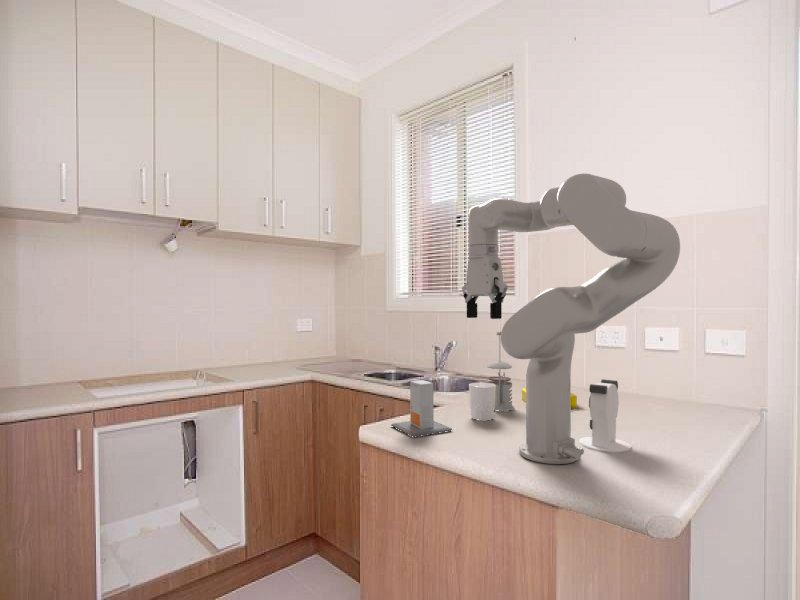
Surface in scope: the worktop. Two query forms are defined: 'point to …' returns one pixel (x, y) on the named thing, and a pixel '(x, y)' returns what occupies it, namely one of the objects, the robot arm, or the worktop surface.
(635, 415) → the worktop surface
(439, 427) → the tray
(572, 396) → the element tile
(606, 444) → the panda figurine
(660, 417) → the worktop surface
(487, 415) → the white cup
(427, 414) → the skincare box
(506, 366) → the french press
